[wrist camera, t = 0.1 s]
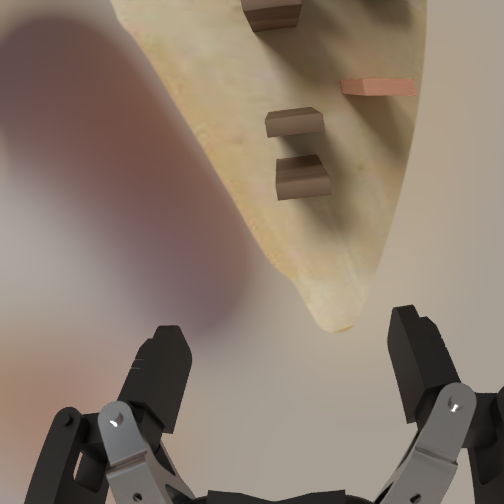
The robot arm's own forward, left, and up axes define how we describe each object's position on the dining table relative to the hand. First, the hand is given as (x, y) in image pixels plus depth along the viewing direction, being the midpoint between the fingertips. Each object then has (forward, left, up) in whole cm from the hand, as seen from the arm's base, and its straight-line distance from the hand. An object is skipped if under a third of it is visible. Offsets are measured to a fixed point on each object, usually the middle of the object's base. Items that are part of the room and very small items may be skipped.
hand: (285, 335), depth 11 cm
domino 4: (-8, +11, -29) cm, 32 cm away
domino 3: (+1, +2, -29) cm, 29 cm away
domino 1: (-17, +2, -29) cm, 33 cm away
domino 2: (-5, +2, -29) cm, 29 cm away
